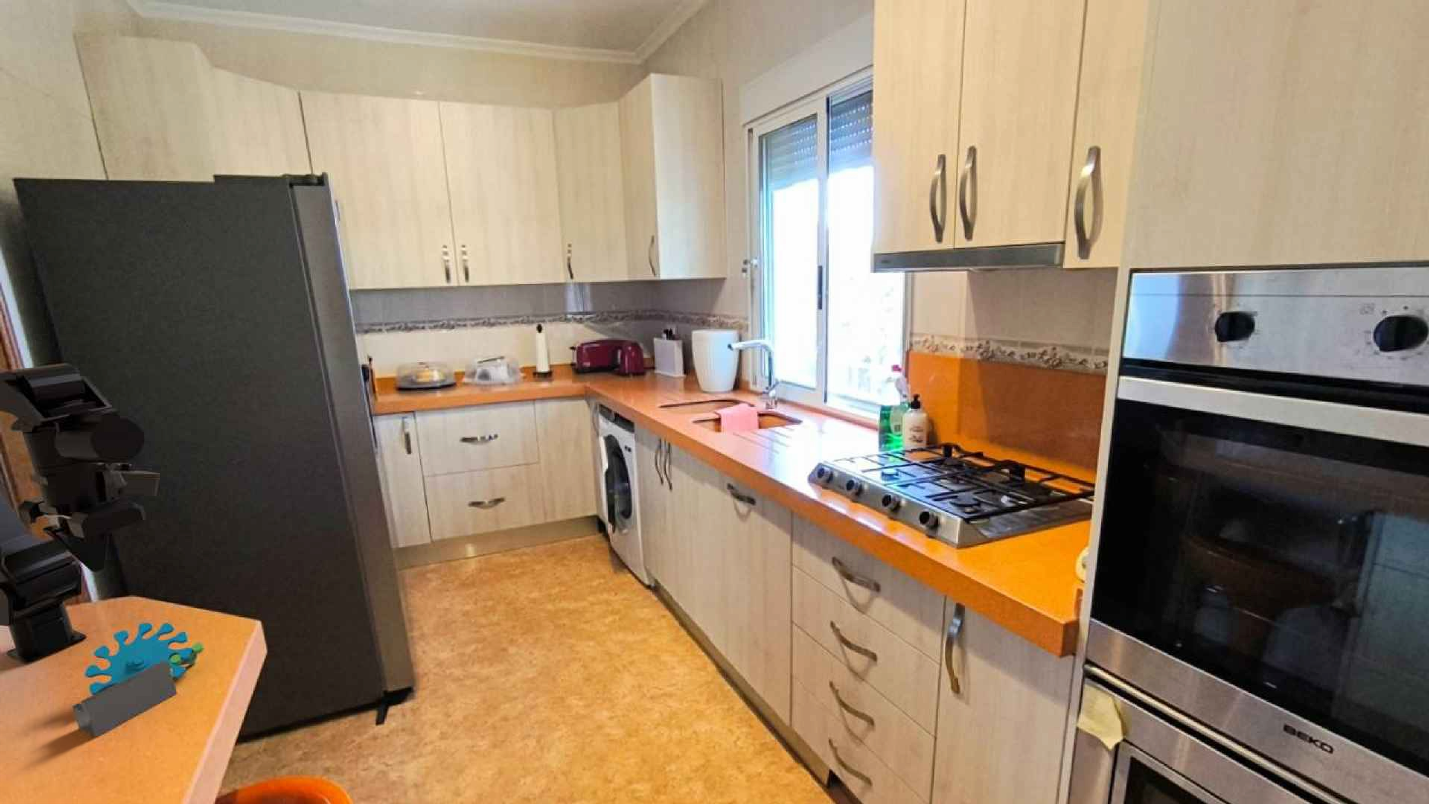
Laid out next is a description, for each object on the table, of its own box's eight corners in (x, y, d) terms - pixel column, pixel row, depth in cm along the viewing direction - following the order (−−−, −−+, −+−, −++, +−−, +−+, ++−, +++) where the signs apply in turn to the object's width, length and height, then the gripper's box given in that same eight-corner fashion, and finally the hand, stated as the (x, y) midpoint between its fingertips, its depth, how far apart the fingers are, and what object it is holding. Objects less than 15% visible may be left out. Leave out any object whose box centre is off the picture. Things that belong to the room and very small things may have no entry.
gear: (75, 713, 71) (90, 629, 76) (90, 724, 76) (104, 643, 80) (197, 687, 77) (204, 611, 82) (205, 699, 81) (211, 625, 86)
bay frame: (79, 728, 71) (68, 695, 70) (159, 686, 78) (150, 655, 77) (95, 737, 70) (85, 703, 69) (177, 693, 76) (168, 662, 76)
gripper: (177, 448, 83) (205, 553, 86) (108, 440, 90) (136, 537, 94) (67, 475, 73) (103, 593, 76) (0, 463, 81) (35, 570, 84)
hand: (98, 570), depth 83 cm, fingers closed
